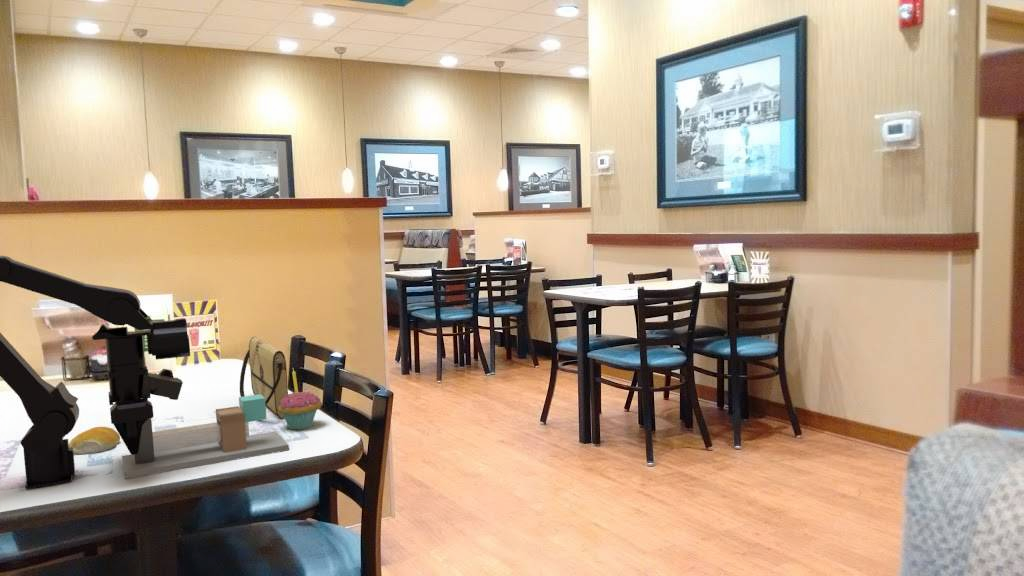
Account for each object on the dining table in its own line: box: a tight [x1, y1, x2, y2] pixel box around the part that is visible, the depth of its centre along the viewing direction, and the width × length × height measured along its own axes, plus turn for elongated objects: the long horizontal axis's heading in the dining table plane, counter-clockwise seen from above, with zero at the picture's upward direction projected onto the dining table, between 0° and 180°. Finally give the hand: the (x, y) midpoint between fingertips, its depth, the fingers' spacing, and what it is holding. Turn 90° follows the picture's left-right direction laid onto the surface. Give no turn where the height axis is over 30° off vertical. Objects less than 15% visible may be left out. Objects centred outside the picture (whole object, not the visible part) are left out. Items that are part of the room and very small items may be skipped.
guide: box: [121, 405, 290, 479], centre depth 136 cm, size 27×11×8 cm, turn 119°
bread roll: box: [69, 426, 121, 455], centre depth 144 cm, size 8×9×4 cm
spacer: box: [238, 394, 267, 423], centre depth 140 cm, size 4×4×4 cm
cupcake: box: [279, 367, 322, 430], centre depth 154 cm, size 9×8×12 cm
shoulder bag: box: [239, 336, 289, 420], centre depth 171 cm, size 30×7×15 cm, turn 30°
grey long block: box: [134, 418, 250, 463], centre depth 135 cm, size 19×4×7 cm, turn 119°
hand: (133, 450), depth 131 cm, fingers open, 4 cm apart
